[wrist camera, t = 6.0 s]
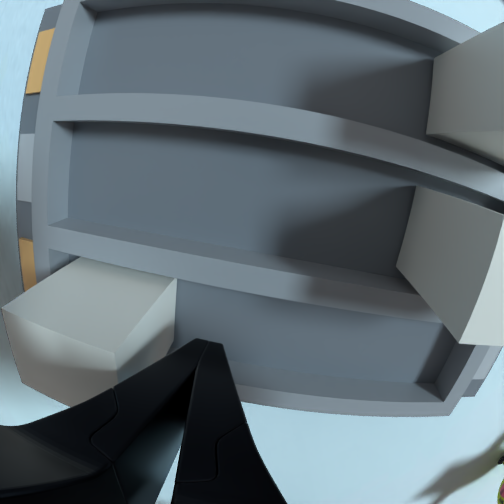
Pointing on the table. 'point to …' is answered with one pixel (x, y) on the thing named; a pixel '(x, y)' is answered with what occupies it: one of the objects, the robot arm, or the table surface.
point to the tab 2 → (471, 95)
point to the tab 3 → (457, 264)
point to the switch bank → (257, 184)
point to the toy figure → (501, 487)
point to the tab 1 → (90, 328)
